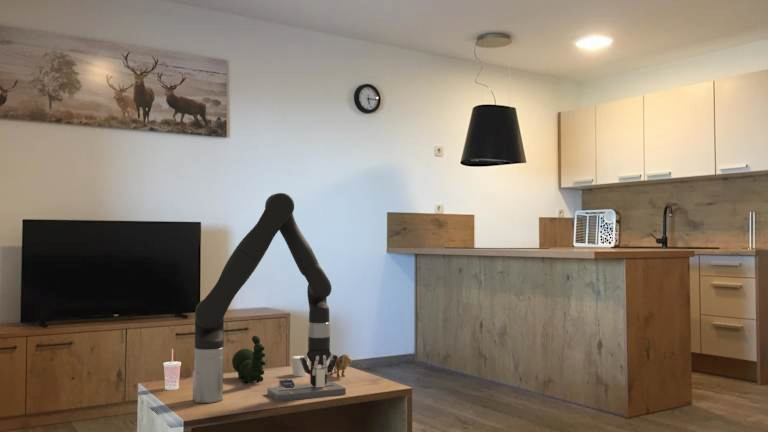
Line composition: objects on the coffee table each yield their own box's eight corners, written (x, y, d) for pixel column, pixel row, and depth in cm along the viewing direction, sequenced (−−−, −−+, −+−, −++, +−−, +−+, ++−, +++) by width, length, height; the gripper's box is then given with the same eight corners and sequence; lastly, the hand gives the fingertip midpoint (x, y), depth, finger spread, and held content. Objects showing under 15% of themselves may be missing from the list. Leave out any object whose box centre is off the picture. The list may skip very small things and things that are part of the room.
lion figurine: (353, 377, 255) (353, 354, 256) (342, 379, 252) (342, 355, 253) (333, 371, 267) (333, 349, 267) (321, 373, 264) (322, 350, 264)
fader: (316, 393, 228) (316, 370, 228) (312, 390, 231) (312, 368, 232) (324, 392, 229) (324, 369, 229) (320, 389, 233) (320, 367, 233)
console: (278, 401, 217) (278, 395, 217) (267, 393, 228) (267, 387, 228) (345, 394, 228) (345, 388, 228) (332, 387, 239) (332, 381, 239)
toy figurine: (270, 389, 242) (249, 371, 264) (273, 338, 241) (251, 324, 263) (245, 392, 237) (226, 373, 259) (247, 340, 236) (228, 325, 258)
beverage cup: (182, 389, 235) (183, 349, 236) (165, 391, 232) (165, 350, 232) (178, 385, 240) (179, 346, 241) (161, 387, 237) (161, 348, 238)
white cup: (307, 376, 257) (307, 358, 258) (290, 376, 257) (290, 358, 258) (309, 373, 264) (310, 355, 264) (292, 373, 264) (292, 355, 264)
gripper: (303, 337, 224) (303, 389, 224) (341, 335, 231) (341, 385, 230) (296, 335, 231) (295, 385, 230) (333, 332, 237) (333, 381, 237)
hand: (318, 385), depth 230 cm, fingers closed on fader, 3 cm apart
